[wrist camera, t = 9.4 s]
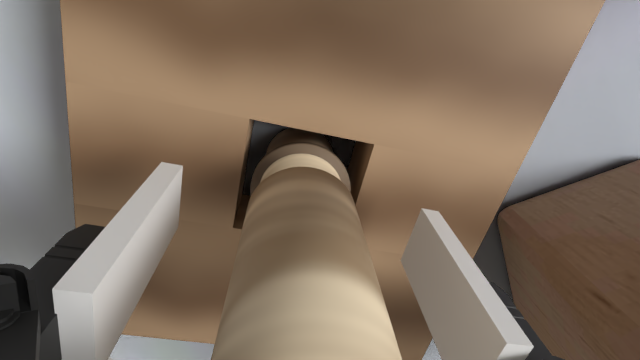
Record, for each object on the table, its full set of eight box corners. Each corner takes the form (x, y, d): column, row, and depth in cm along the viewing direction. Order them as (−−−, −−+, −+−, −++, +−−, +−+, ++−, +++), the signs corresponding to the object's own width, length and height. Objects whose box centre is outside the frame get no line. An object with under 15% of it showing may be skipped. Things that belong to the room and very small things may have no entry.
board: (103, -148, 14) (46, -193, 11) (554, -12, 17) (613, -17, 14) (111, 285, 23) (82, 330, 20) (403, 321, 26) (418, 365, 23)
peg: (265, 111, 19) (65, 818, 2) (350, 128, 19) (640, 768, 3) (252, 188, 20) (91, 874, 4) (329, 201, 21) (443, 835, 5)
